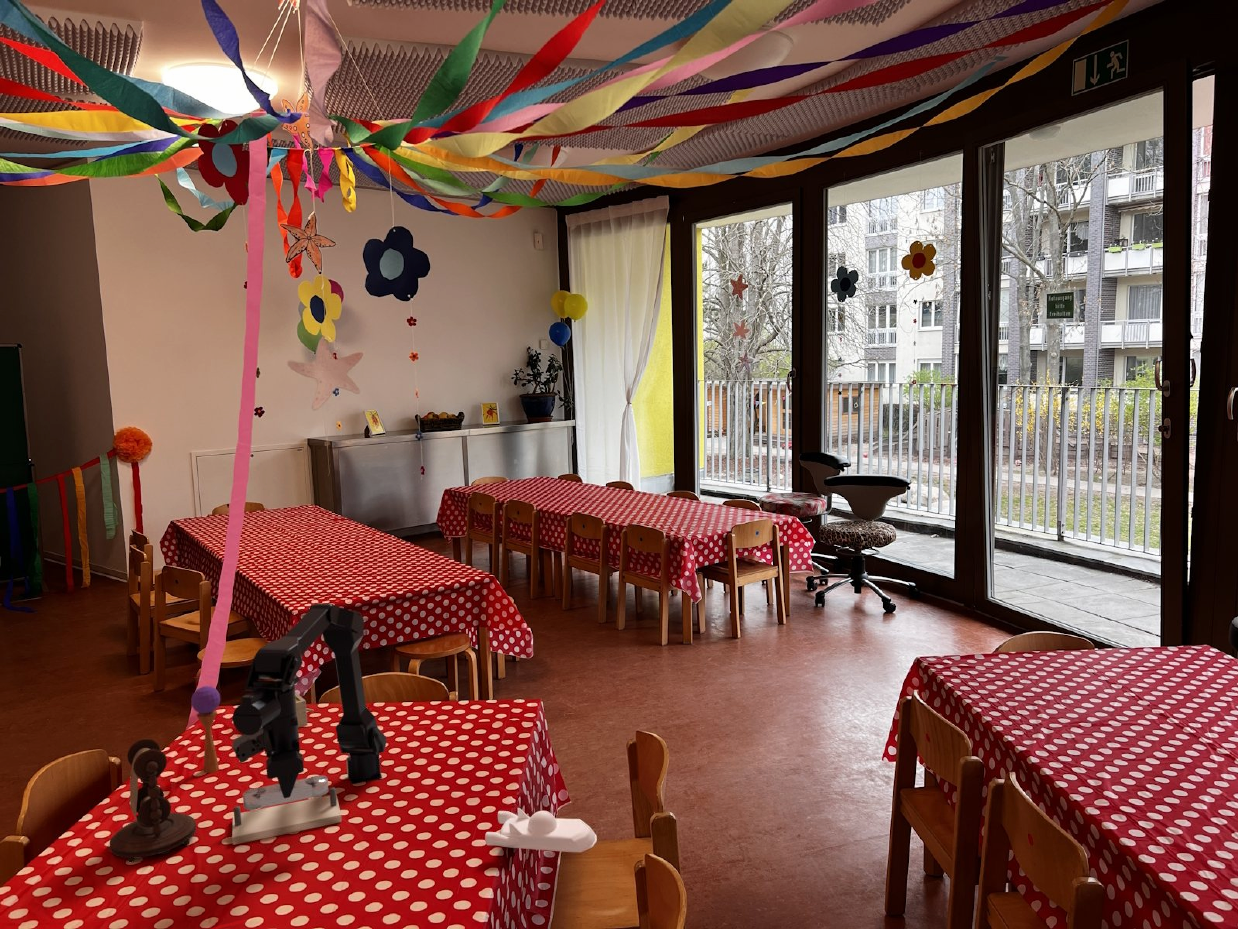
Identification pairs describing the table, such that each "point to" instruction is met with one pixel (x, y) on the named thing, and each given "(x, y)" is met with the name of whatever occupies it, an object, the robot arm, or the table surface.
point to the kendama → (207, 722)
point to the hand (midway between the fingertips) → (286, 793)
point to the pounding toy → (301, 710)
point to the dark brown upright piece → (150, 809)
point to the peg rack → (285, 818)
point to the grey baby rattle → (274, 795)
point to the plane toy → (541, 832)
